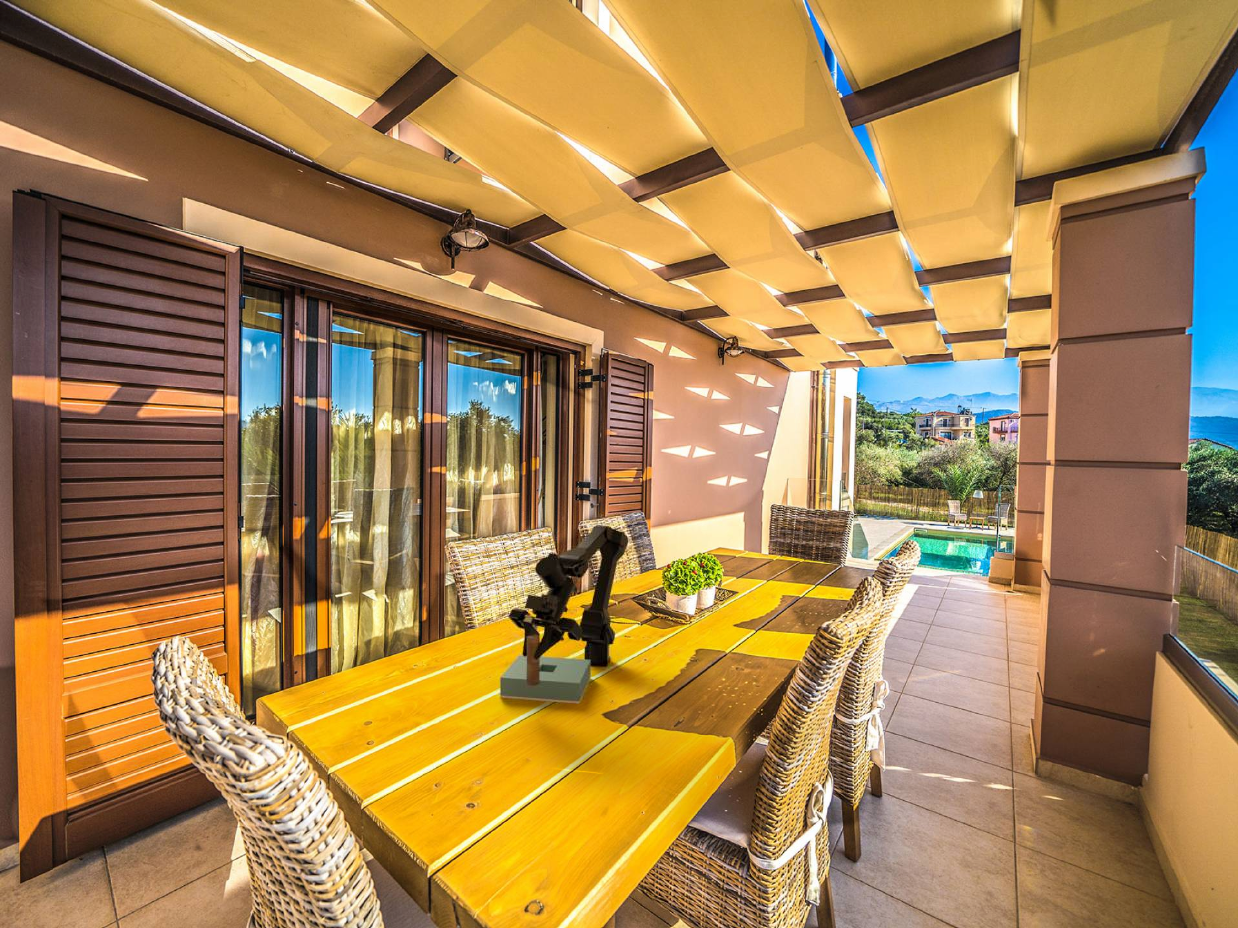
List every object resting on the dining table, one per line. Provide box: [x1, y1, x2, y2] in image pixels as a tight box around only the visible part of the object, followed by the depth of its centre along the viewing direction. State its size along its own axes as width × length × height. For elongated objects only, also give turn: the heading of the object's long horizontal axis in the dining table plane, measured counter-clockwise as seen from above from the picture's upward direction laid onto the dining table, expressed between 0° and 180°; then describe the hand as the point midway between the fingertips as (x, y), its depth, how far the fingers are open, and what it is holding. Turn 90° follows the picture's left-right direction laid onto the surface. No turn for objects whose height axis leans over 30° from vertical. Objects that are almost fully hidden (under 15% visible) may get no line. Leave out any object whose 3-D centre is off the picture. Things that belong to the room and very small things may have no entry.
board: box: [499, 654, 592, 705], centre depth 131 cm, size 20×14×5 cm
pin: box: [527, 634, 541, 686], centre depth 119 cm, size 3×3×11 cm
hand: (529, 657), depth 117 cm, fingers closed on pin, 3 cm apart
